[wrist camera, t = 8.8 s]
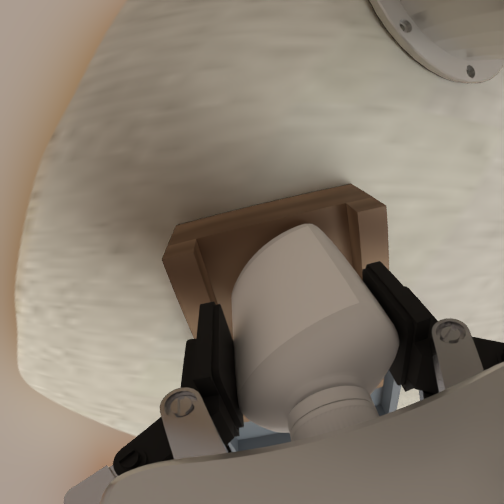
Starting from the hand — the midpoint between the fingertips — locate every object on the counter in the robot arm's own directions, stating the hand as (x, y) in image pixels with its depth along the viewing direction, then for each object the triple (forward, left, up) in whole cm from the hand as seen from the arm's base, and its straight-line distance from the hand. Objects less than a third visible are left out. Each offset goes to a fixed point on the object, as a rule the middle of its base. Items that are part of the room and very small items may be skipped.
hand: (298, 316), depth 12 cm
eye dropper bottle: (0, 0, -4) cm, 4 cm away
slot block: (+4, 0, -7) cm, 8 cm away
